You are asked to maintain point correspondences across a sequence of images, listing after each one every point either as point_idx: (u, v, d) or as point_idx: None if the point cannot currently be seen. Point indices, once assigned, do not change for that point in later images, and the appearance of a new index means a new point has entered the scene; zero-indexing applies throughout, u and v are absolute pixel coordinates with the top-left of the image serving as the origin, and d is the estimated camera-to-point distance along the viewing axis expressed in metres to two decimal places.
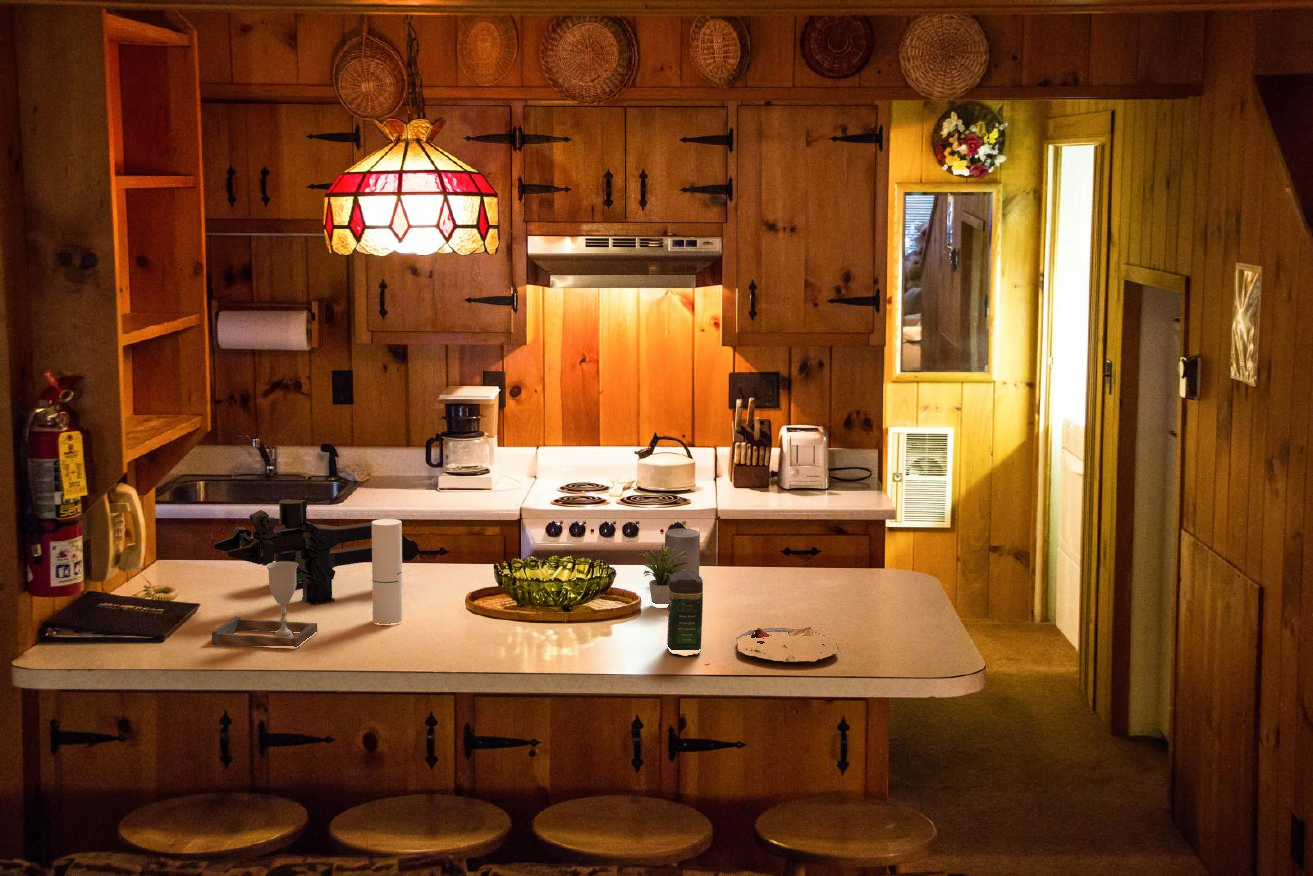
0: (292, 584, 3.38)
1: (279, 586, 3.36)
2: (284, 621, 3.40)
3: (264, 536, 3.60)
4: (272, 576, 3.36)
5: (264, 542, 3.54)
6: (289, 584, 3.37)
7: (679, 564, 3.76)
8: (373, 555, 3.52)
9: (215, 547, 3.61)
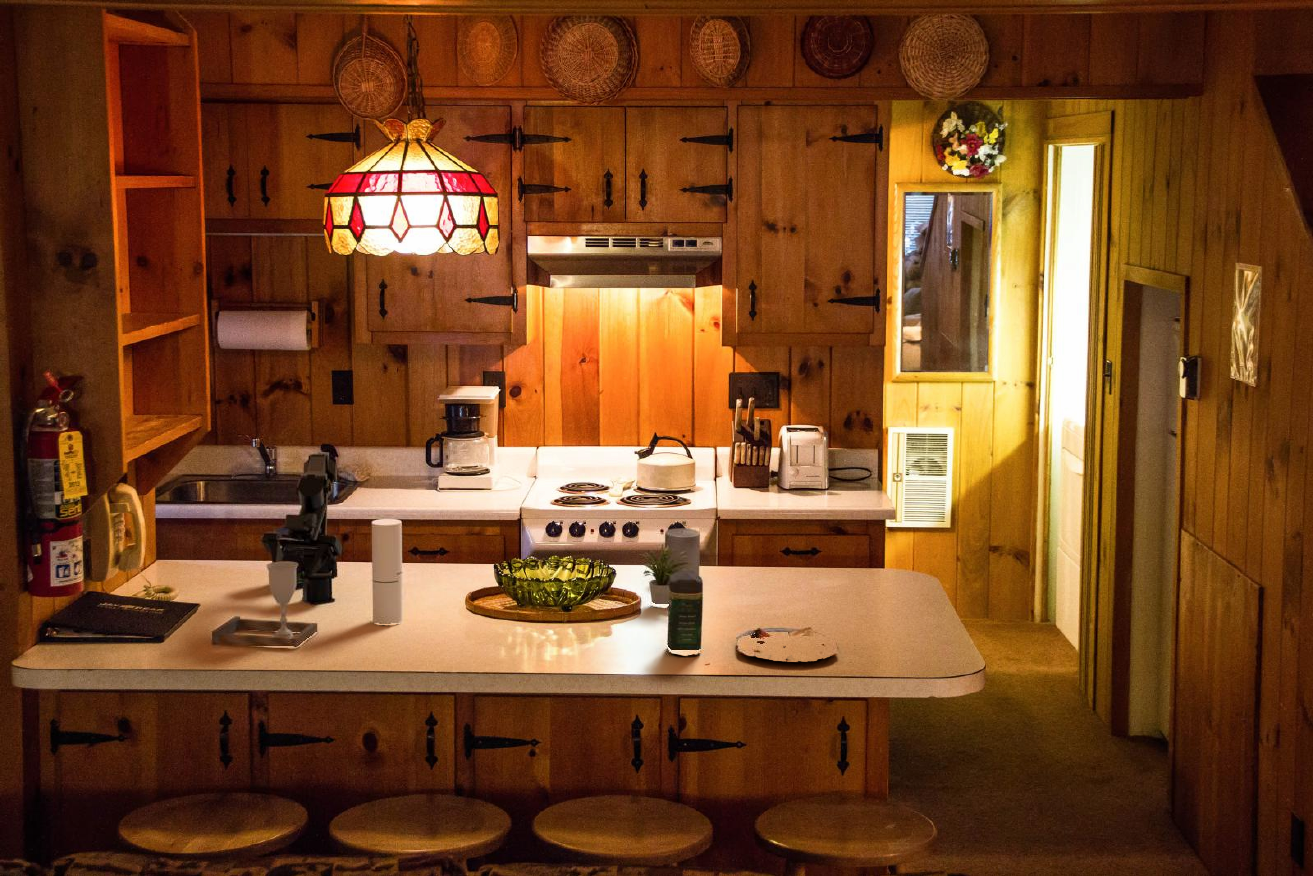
0: (292, 584, 3.38)
1: (279, 586, 3.36)
2: (284, 621, 3.40)
3: (311, 532, 3.50)
4: (272, 576, 3.36)
5: (333, 542, 3.47)
6: (289, 584, 3.37)
7: (679, 564, 3.76)
8: (373, 555, 3.52)
9: None
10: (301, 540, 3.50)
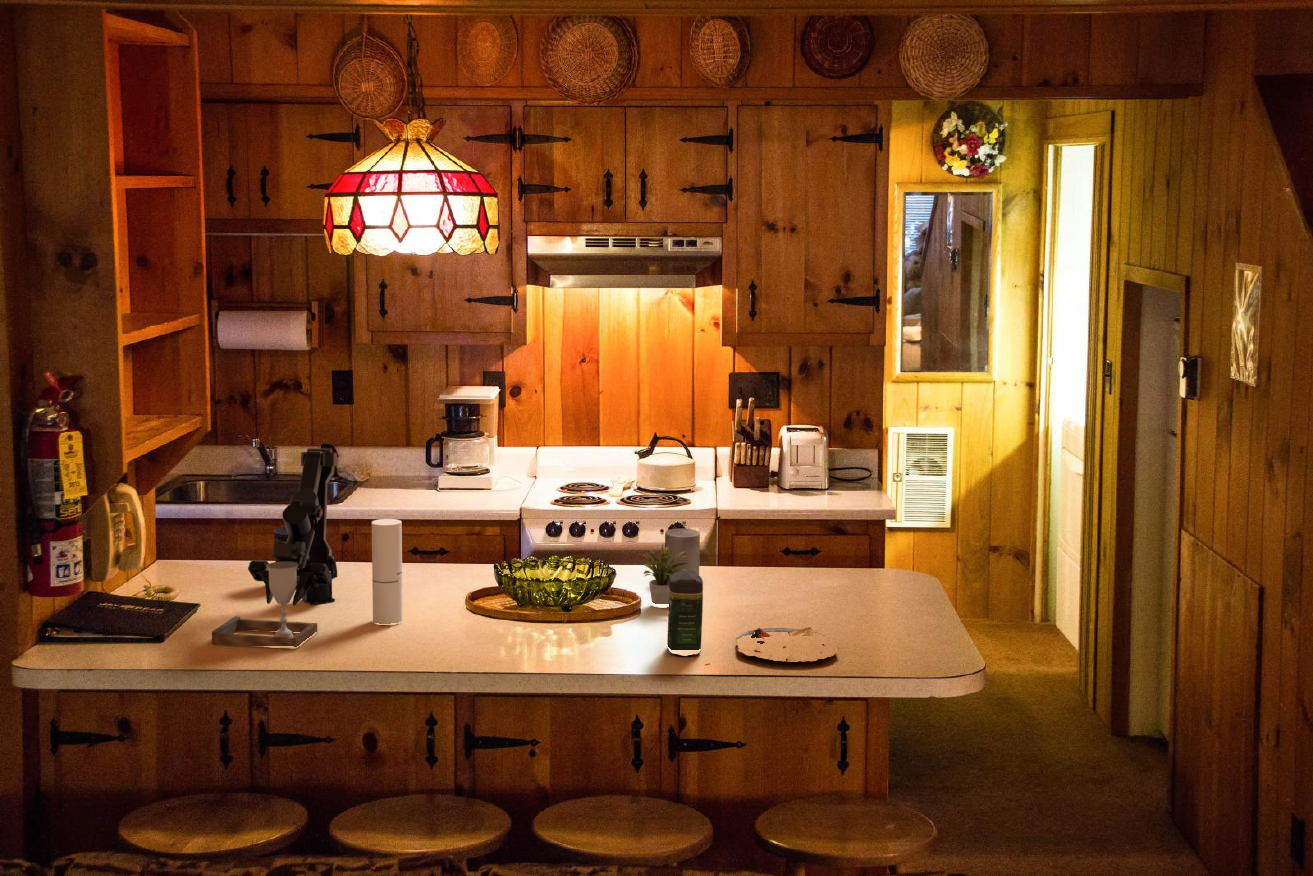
0: (292, 584, 3.38)
1: (279, 586, 3.36)
2: (284, 621, 3.40)
3: (300, 560, 3.42)
4: (272, 576, 3.36)
5: (323, 571, 3.39)
6: (289, 584, 3.37)
7: (679, 564, 3.76)
8: (373, 555, 3.52)
9: (269, 602, 3.39)
10: None
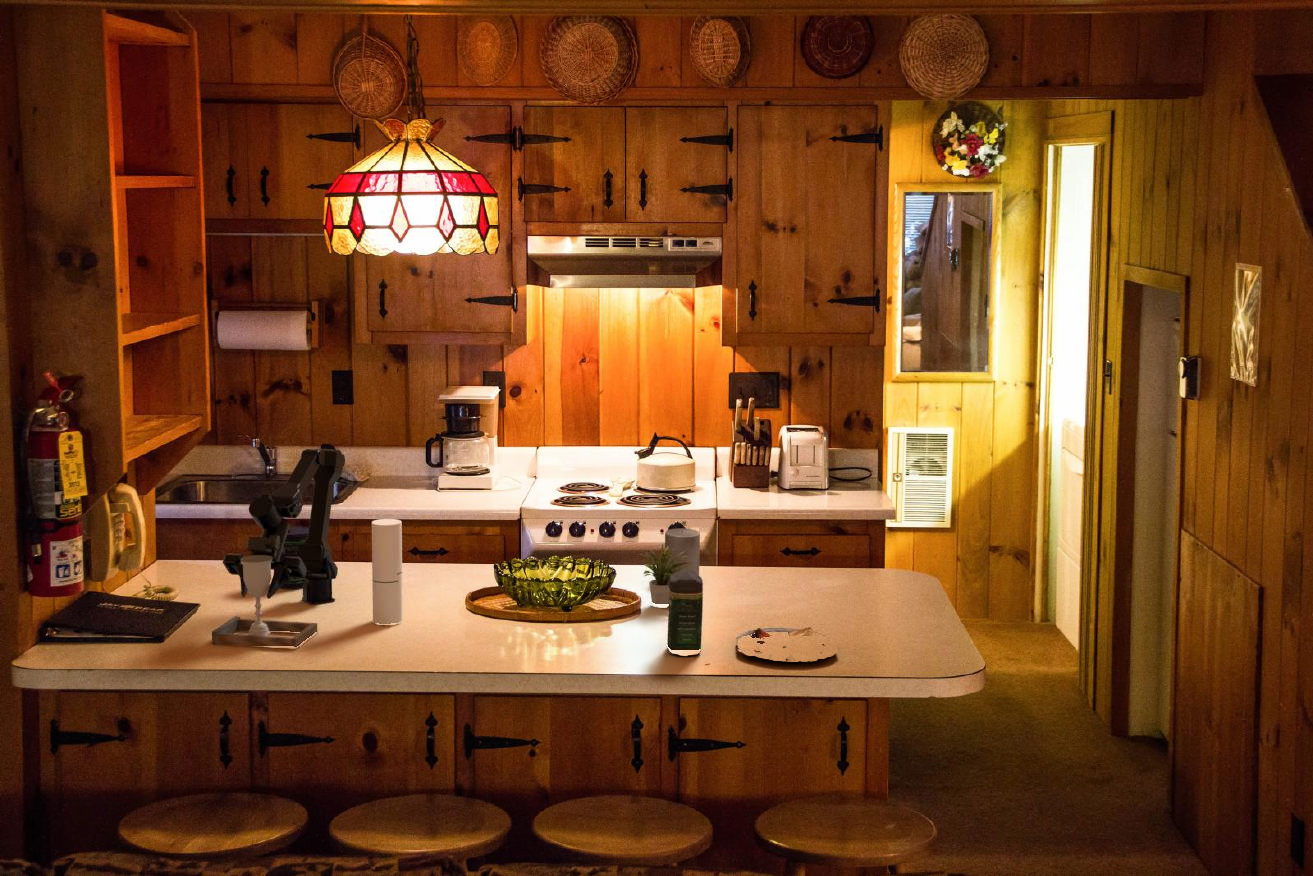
0: (267, 577, 3.38)
1: (253, 579, 3.37)
2: (259, 615, 3.40)
3: (275, 554, 3.42)
4: (247, 570, 3.37)
5: (297, 564, 3.40)
6: (263, 578, 3.38)
7: (679, 564, 3.76)
8: (373, 555, 3.52)
9: (244, 595, 3.40)
10: None
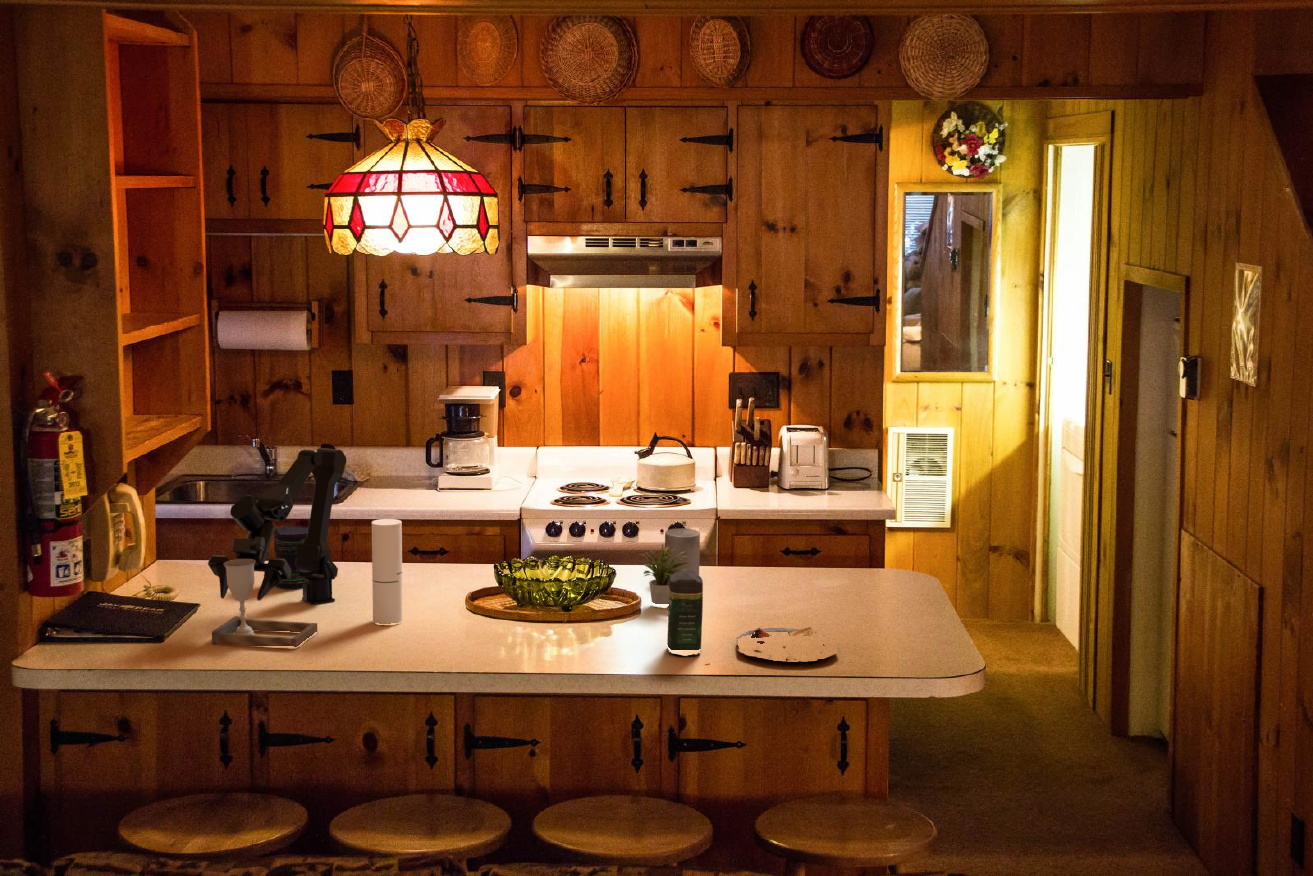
0: (250, 581, 3.39)
1: (236, 583, 3.37)
2: (243, 618, 3.41)
3: (260, 555, 3.43)
4: (230, 574, 3.37)
5: (282, 566, 3.40)
6: (246, 581, 3.38)
7: (679, 564, 3.76)
8: (373, 555, 3.52)
9: (223, 596, 3.40)
10: None
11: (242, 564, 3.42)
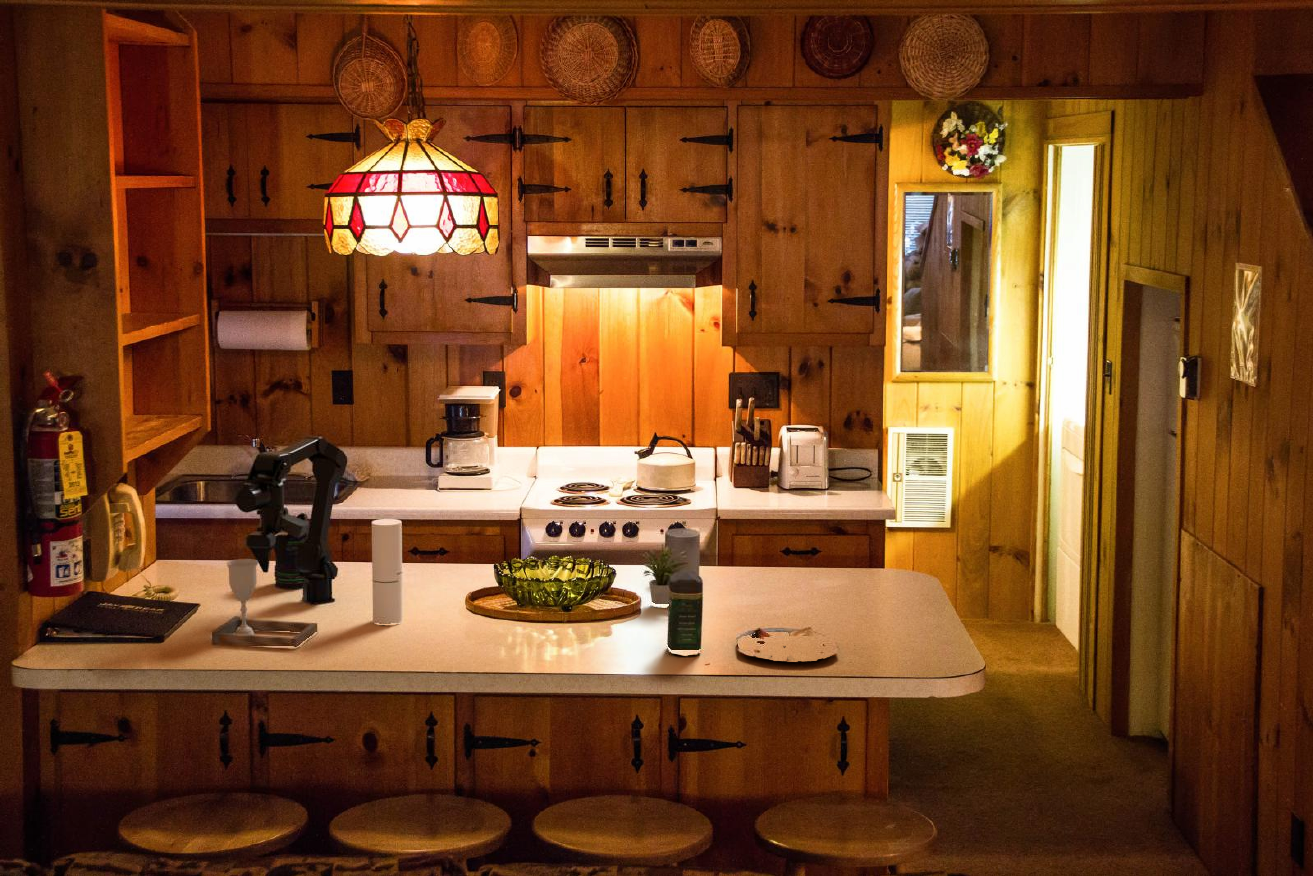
0: (252, 581, 3.39)
1: (239, 583, 3.38)
2: (244, 618, 3.41)
3: None
4: (232, 574, 3.38)
5: None
6: (249, 582, 3.38)
7: (679, 564, 3.76)
8: (373, 555, 3.52)
9: None
10: (278, 533, 3.54)
11: (245, 564, 3.43)
